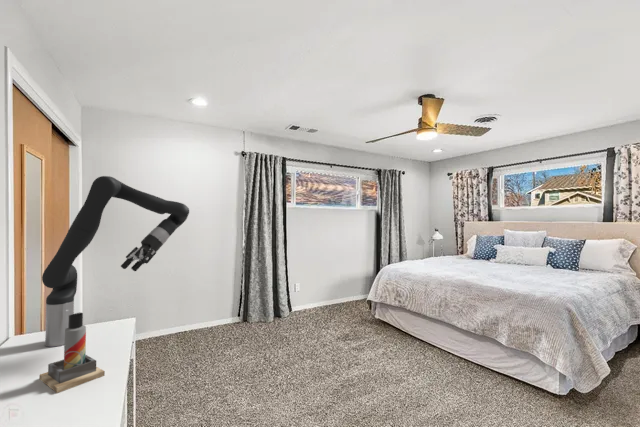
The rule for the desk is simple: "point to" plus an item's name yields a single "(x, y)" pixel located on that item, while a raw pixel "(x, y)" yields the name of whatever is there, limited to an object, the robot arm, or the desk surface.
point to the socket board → (70, 374)
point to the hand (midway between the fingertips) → (127, 268)
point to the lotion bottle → (74, 341)
